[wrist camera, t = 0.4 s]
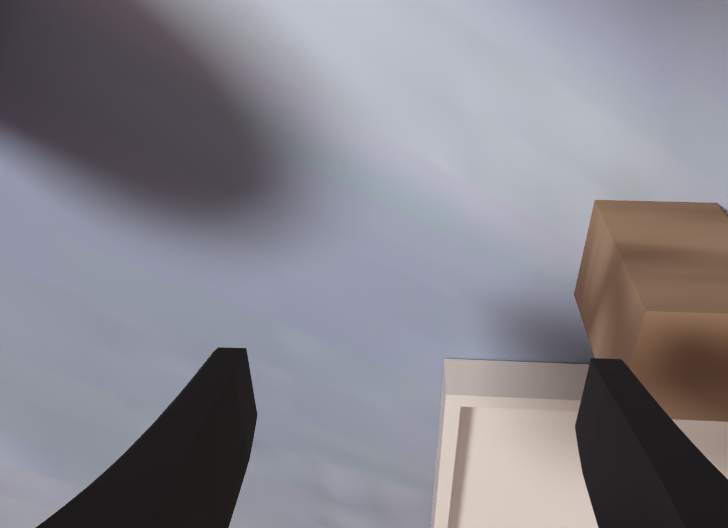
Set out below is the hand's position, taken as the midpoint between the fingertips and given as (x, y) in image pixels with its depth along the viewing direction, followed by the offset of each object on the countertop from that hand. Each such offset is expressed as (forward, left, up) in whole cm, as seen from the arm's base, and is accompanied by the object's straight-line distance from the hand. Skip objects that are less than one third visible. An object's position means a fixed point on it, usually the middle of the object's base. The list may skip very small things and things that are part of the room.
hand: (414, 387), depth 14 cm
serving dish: (-15, -8, -10) cm, 19 cm away
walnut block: (-3, -8, -10) cm, 13 cm away
